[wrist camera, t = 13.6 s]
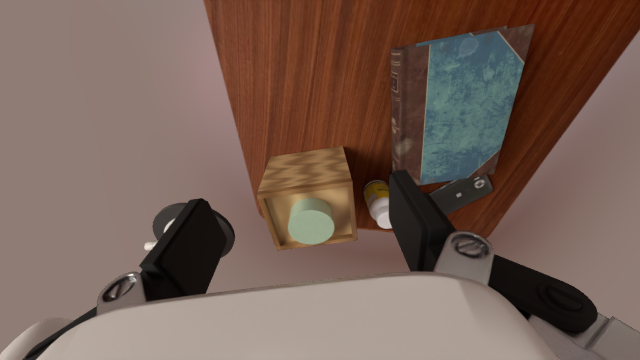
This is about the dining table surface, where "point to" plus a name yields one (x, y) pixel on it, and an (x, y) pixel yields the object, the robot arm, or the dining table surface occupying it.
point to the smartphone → (461, 193)
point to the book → (454, 102)
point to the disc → (311, 221)
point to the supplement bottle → (378, 202)
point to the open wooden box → (308, 192)
